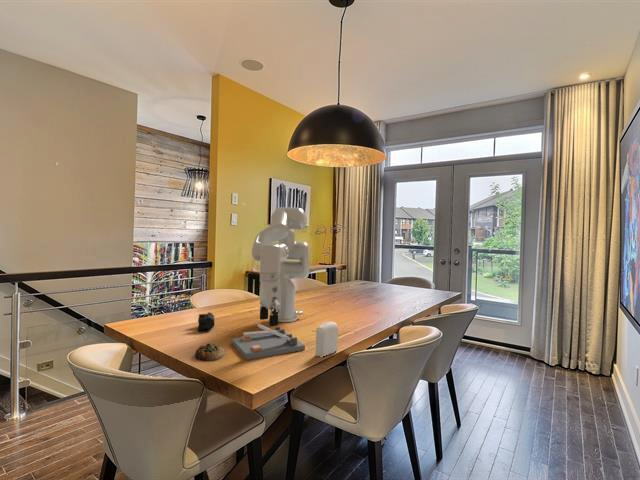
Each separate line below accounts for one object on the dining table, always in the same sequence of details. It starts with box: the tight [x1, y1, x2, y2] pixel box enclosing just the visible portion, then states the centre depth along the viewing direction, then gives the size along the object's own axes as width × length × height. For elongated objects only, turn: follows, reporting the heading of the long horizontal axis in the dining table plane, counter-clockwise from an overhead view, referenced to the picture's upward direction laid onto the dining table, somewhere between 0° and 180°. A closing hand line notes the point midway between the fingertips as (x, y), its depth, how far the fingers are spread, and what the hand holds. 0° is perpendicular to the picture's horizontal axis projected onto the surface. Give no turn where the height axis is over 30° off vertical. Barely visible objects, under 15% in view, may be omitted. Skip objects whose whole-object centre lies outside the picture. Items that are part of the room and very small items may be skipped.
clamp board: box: [231, 325, 306, 361], centre depth 137 cm, size 24×20×5 cm
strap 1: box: [242, 328, 281, 337], centre depth 143 cm, size 17×3×2 cm, turn 120°
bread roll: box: [194, 343, 226, 361], centre depth 126 cm, size 11×11×5 cm
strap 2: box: [256, 323, 293, 342], centre depth 133 cm, size 17×3×2 cm, turn 121°
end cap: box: [197, 312, 215, 333], centre depth 159 cm, size 10×7×7 cm
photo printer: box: [315, 321, 339, 358], centre depth 132 cm, size 10×4×12 cm, turn 140°
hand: (268, 322), depth 126 cm, fingers open, 9 cm apart
